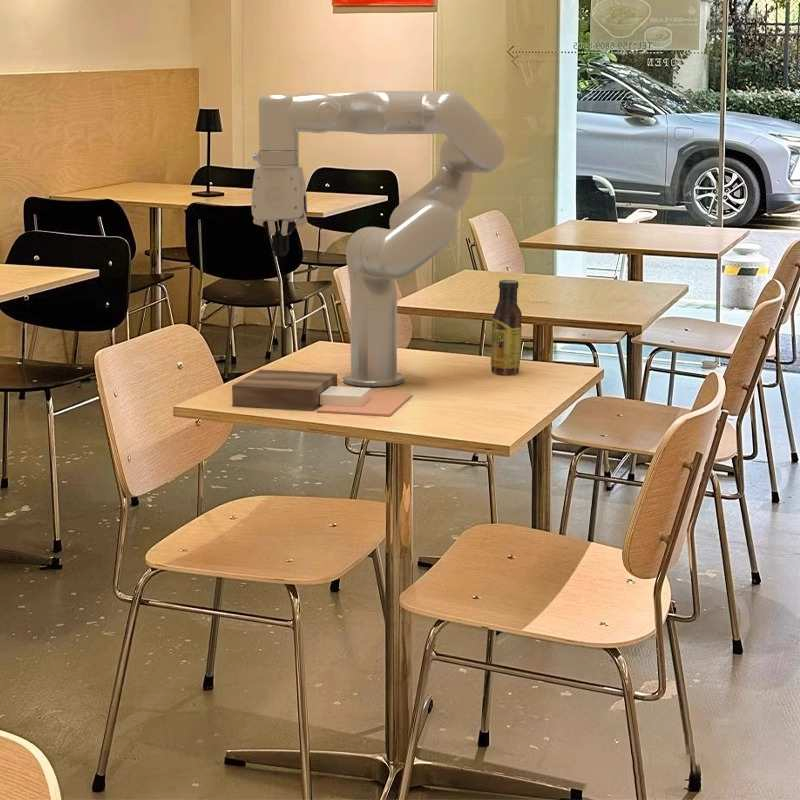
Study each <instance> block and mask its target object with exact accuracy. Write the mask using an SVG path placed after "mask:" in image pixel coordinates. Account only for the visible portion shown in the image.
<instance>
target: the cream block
mask: <svg viewBox="0 0 800 800" xmlns="http://www.w3.org/2000/svg"><path fill="white" fill-rule="evenodd" d="M371 392H372V387H360V386H358V387H356V386H338V385H337V386H331V387H329V388H328V389H327V390H325V391H324V392H323V393H321V394H320V405H321V406H323V405H330V406H349V407H362V406H363V405H364V404H365V403H366V402H367V401H369V400H370V399H371Z"/></svg>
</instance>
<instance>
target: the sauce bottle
mask: <svg viewBox="0 0 800 800" xmlns="http://www.w3.org/2000/svg"><path fill="white" fill-rule="evenodd" d="M498 288H499V292H498V293H499V297H498V302H497V306H496V308H495V310H494V313H493V316H492V320H491V321H492V323H491V324H492V325H491V342H490V343H491V344H490V345H491V351H490V366H491V368H490V369H491V370H490V371H491V373H492V374H495V375H498V376H515V375H518V374H519V373H520V366H521V352H522V351H521V349H522V331H523V329H522V318H523V317H522V316H523V315H522V311H521V309H520V307H519V305H518V288H519V281H518V280H514V279H501V280H499V283H498Z"/></svg>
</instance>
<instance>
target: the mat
mask: <svg viewBox="0 0 800 800" xmlns="http://www.w3.org/2000/svg"><path fill="white" fill-rule="evenodd" d="M412 397H413V394H412V393H396V392H395V393H394V392H392V393H391V392H380V391H379V392H378V391H376V392H375V391H371V399H370V400H369V401H367V402H366V403H365V404H364V405H363V406H362V407H349V406H330V405H321V406H319V407H318V408H317V409H316V412H317V413H323V414H325V413H326V414H338V413H339V415H340V414H343V415H359V416H372V417H376V416H377V417H391V416H392V415H393V414H394V413H395V412H397V411H398V410H399V409H401V407H402V406H403V405H405V403H407V402H408V401H409V400H410V399H411V398H412Z"/></svg>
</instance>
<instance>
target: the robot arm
mask: <svg viewBox="0 0 800 800" xmlns="http://www.w3.org/2000/svg"><path fill="white" fill-rule="evenodd" d="M328 132H341V133H342V132H345V133H354V134H355V133H357V134H360V135H361V134H363V135H383V136H384V135H433V134H435V135H444V136H445V138H444V139H443V141H442V142H441V145H440V149H439V163H438V164H439V165H438V169H437V172H436V174H435V176H434V177H433V178H432V179H431V180H430V181H429V182H428V183H426V184H425V185H424V186H423V187H421V188H420V189H419V190H417V191H416V192H415V193H413V194H412V195H410V196H409V197H408V198H406V199H405V200H403V201H402V202H401V203H400V204H398V205H397V206H396V207H395V208H394V209H393V211H392V213H391V215H390V217H389V228H390V229H388V228H382V227H378V226H366V227H363V228H360V229H357V230H356V231H355V232H354V233H353V234H352V235H351V236H350V238H349V239H348V241H347V244H346V250H345V258H346V266H347V272H348V277H349V279H348V280H349V292H350V294H349V295H350V310H349V311H350V316H349V317H350V318H349V320H350V372H349V371H348V372H347V373H344V374H343V377H342V378H343V380H342V381H343V382H344V383H346V384H348V385H351V386H355V387H356V386H358V387H366V388H372V387H376V388H377V387H389V386H395V385H399V384H402V383H404V381H405V375H404V373H402V372H398V292H397V284H396V280H400V279H404V278H405V277H407V276H409V275H411V274H412V273H414V272H415V271H416V270H418V269H419V268H421V266H422V267H423V265H424V264H425V263H427V262H429V261H430V259H432V258H434V257H435V256H436V255H437V254H439V252H441V251H442V250H443V249H445V248H446V247H447V246H448V245H449V244H450V243H451V242H452V240H453V238H454V236H455V234H456V231H457V227H458V219H457V218H458V217H457V213H458V212H459V211H461V209H462V208H464V206H465V205H466V204H467V203H468V201H469V198H470V196H471V192H472V187H473V176H474V174H473V173H475V174H490V173H491V172H494V171H496V170H497V169H499V168H500V166H502V164H503V162H504V159H505V155H506V149H505V144H504V142H503V140H502V138H501V136H500V135H499V134H498V132H497V131H496V129H494V128H493V127H492V126H491V124H490V123H489V122H488V121H487V120H486V119H485V118H484V117H483V116H482V115H481V114H480V112H478V110H477V109H476V108H475V107H474V106H473V105H472V104H471V103H470V102H469V101H468V100H467V99H466V98H465V97H464V96H462V95H461V94H459V92H455V91H452V90H450V91H449V90H444V91H442V90H441V91H440V90H439V91H438V90H433V91H432V90H415V91H414V90H371V91H370V90H367V91H360V92H348V93H347V92H346V93H322V92H321V93H320V92H318V93H317V92H302V93H296V94H287V93H285V94H284V93H273V94H272V93H269V94H262V95H261V97H260V98H259V99H258V134H259V135H258V136H259V137H258V138H259V139H258V142H259V150H258V152H256V153H253V154H252V161H256V162H258V165H259V166H255V168H254V174H253V181H252V189H251V191H252V192H251V215H252V217H253V220H252V222H253V224H254V225H257V226H261V227H263V228H265V230H267V231H268V232H269V235H270V236H271V251H272V252H273V254H274V255H273V256H274V257H285V256H287V255H288V253H289V251H290V235H291V233H292V232H293V231H294V230H295V229H296V228H298V227H302V226H306V225H308V219H307V215H308V214H307V212H308V199H307V197H308V196H307V188H306V187H307V186H306V181H305V175H304V171H303V167H301V166H300V155H299V154H300V153H299V152H300V151H299V148H300V147H299V144H300V143H299V135H300V134H299V133H311V134H312V133H313V134H325V133H328ZM279 221H282V222H281V229H280V225H279Z"/></svg>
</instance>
